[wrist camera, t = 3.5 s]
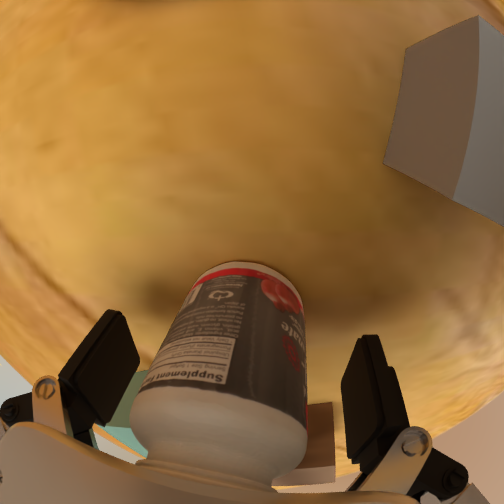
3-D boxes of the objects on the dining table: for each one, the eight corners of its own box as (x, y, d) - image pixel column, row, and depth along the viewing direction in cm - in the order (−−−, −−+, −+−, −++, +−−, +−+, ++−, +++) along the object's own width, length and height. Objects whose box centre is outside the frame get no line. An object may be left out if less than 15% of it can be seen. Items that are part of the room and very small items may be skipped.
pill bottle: (319, 330, 13) (326, 535, 4) (226, 356, 14) (182, 524, 6) (274, 237, 11) (233, 529, 2) (169, 280, 12) (60, 470, 4)
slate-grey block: (493, 103, 7) (571, 113, 2) (470, 201, 9) (542, 251, 4) (405, 49, 7) (478, 15, 2) (382, 163, 9) (452, 200, 5)
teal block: (167, 365, 16) (140, 428, 11) (211, 405, 17) (196, 463, 13) (123, 373, 17) (96, 424, 13) (164, 410, 19) (146, 458, 14)
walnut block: (332, 400, 16) (335, 465, 11) (333, 429, 18) (335, 482, 13) (260, 407, 17) (251, 469, 12) (273, 434, 19) (268, 485, 14)
